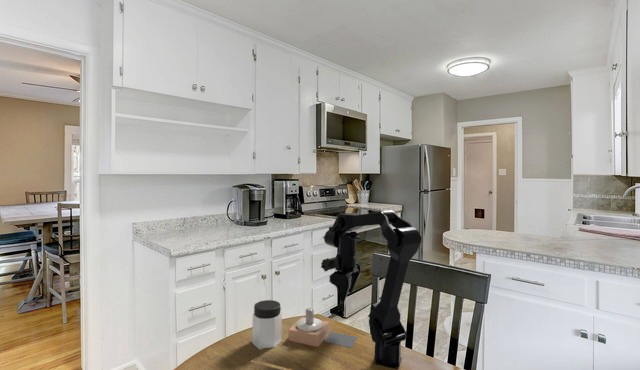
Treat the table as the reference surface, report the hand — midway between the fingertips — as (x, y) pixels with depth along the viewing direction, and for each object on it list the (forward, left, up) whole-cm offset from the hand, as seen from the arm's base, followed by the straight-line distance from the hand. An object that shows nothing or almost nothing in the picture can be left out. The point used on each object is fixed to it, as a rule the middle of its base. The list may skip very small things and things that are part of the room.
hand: (346, 297), depth 106 cm
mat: (0, +6, -12) cm, 13 cm away
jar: (+21, +16, -12) cm, 29 cm away
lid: (+10, +8, -8) cm, 15 cm away
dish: (+10, +8, -12) cm, 18 cm away
